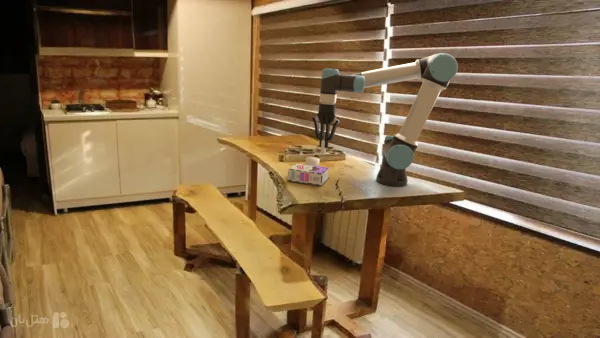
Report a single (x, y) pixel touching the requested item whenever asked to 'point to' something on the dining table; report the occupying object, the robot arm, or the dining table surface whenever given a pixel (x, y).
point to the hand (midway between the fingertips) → (322, 154)
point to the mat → (306, 183)
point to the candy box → (308, 174)
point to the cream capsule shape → (312, 161)
